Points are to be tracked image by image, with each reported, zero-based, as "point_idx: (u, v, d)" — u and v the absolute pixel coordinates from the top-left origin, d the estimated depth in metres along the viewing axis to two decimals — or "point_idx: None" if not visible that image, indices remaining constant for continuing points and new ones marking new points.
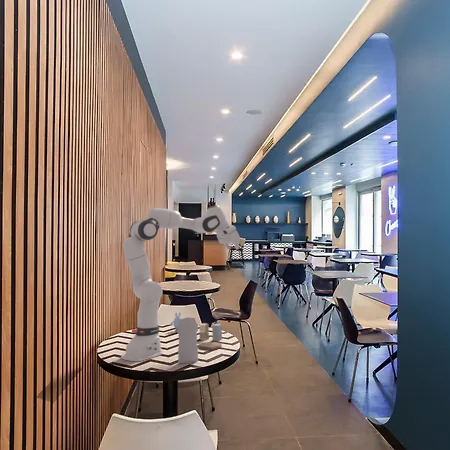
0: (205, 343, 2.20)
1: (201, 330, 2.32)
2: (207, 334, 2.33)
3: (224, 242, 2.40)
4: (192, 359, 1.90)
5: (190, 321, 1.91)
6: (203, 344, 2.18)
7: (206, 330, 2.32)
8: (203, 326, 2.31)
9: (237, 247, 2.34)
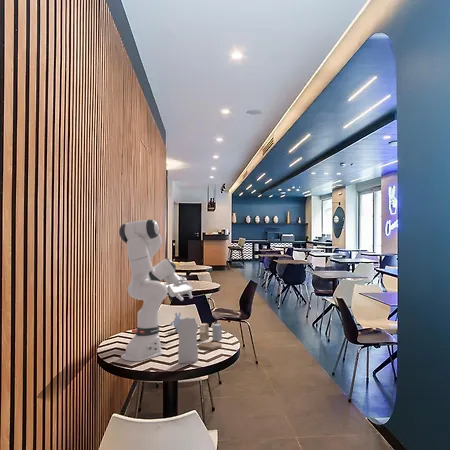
0: (205, 343, 2.20)
1: (201, 330, 2.32)
2: (207, 334, 2.33)
3: (180, 290, 2.39)
4: (192, 359, 1.90)
5: (190, 321, 1.91)
6: (203, 344, 2.18)
7: (206, 330, 2.32)
8: (203, 326, 2.31)
9: None
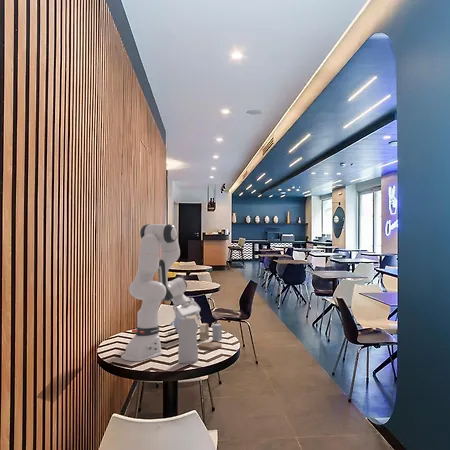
0: (205, 343, 2.20)
1: (201, 330, 2.32)
2: (207, 334, 2.33)
3: (188, 312, 2.36)
4: (192, 359, 1.90)
5: (190, 321, 1.91)
6: (203, 344, 2.18)
7: (206, 330, 2.32)
8: (203, 326, 2.31)
9: None
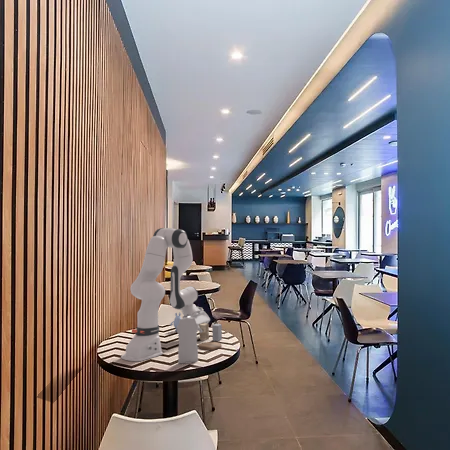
0: (205, 343, 2.20)
1: None
2: (207, 334, 2.33)
3: (197, 322, 2.32)
4: (192, 359, 1.90)
5: (190, 321, 1.91)
6: (203, 344, 2.18)
7: (206, 330, 2.32)
8: (203, 326, 2.31)
9: None
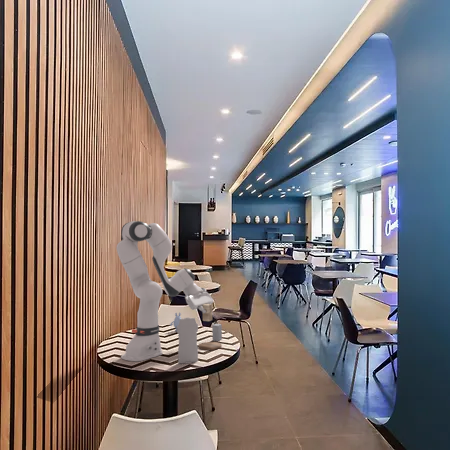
0: (205, 343, 2.20)
1: None
2: (211, 315, 2.21)
3: (200, 302, 2.19)
4: (192, 359, 1.90)
5: (190, 321, 1.91)
6: (203, 344, 2.18)
7: (210, 311, 2.20)
8: (206, 306, 2.19)
9: None
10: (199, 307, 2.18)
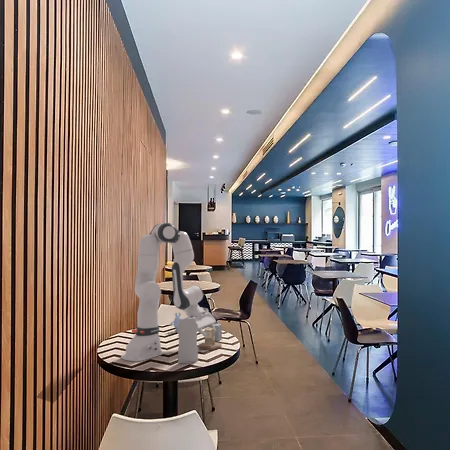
0: None
1: (206, 335, 2.16)
2: (213, 340, 2.17)
3: (202, 324, 2.15)
4: (192, 359, 1.90)
5: (190, 321, 1.91)
6: (203, 344, 2.18)
7: (212, 335, 2.16)
8: (209, 331, 2.15)
9: None
10: (199, 330, 2.13)
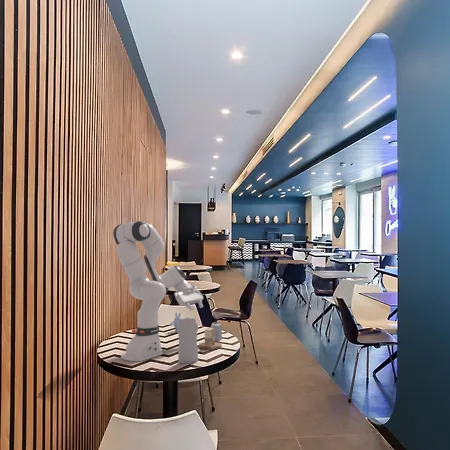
0: None
1: (206, 335, 2.16)
2: (213, 340, 2.17)
3: (189, 299, 2.25)
4: (192, 359, 1.90)
5: (190, 321, 1.91)
6: (203, 344, 2.18)
7: (212, 335, 2.16)
8: (209, 331, 2.15)
9: None
10: (186, 304, 2.23)
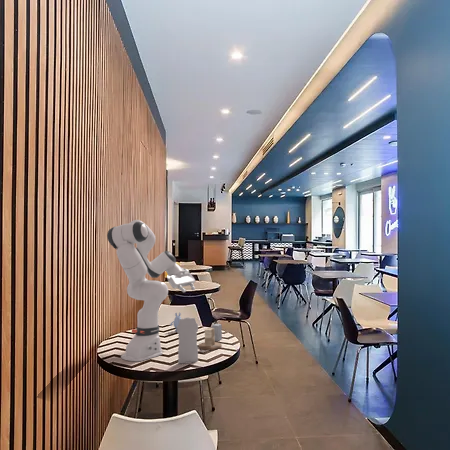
0: None
1: (206, 335, 2.16)
2: (213, 340, 2.17)
3: (182, 282, 2.33)
4: (192, 359, 1.90)
5: (190, 321, 1.91)
6: (203, 344, 2.18)
7: (212, 335, 2.16)
8: (209, 331, 2.15)
9: None
10: (178, 286, 2.31)
